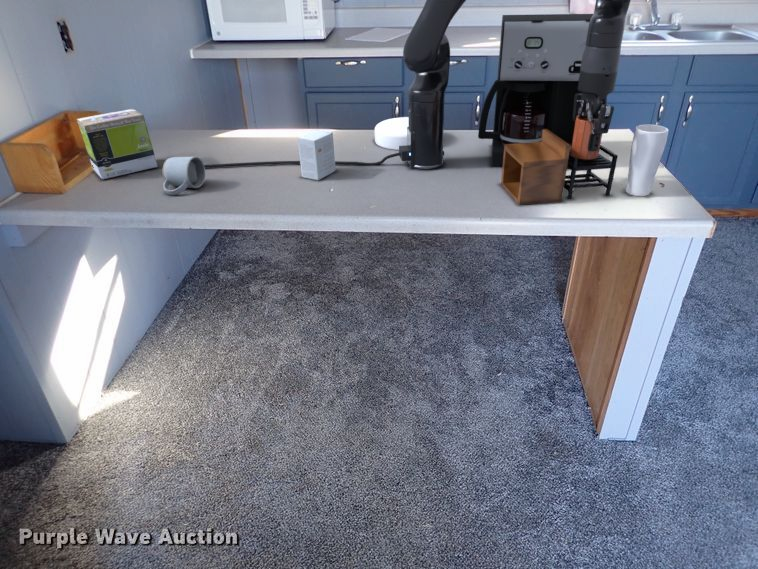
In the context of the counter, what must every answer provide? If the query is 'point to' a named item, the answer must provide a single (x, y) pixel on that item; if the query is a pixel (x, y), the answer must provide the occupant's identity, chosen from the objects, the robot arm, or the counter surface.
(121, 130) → the tea box
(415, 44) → the robot arm
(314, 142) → the small box
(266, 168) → the counter surface
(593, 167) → the rack
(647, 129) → the drinking glass
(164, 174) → the ceramic mug
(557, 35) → the coffee maker
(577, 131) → the cup
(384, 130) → the container
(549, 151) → the wooden open box
